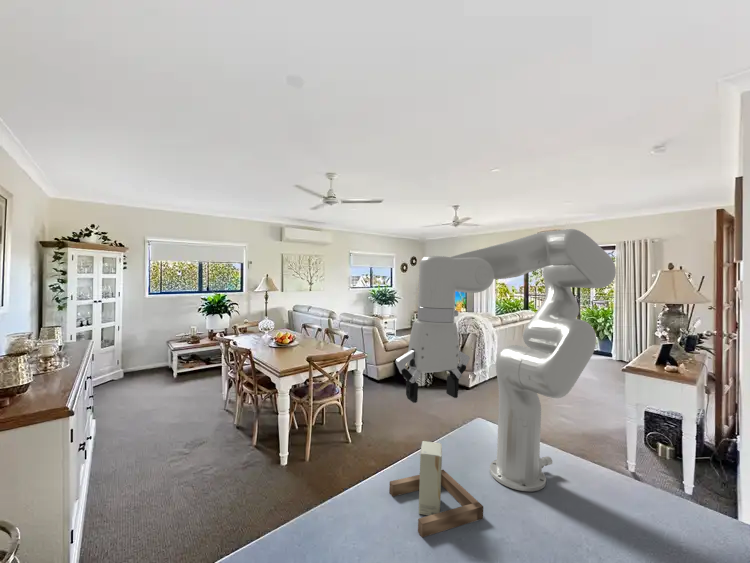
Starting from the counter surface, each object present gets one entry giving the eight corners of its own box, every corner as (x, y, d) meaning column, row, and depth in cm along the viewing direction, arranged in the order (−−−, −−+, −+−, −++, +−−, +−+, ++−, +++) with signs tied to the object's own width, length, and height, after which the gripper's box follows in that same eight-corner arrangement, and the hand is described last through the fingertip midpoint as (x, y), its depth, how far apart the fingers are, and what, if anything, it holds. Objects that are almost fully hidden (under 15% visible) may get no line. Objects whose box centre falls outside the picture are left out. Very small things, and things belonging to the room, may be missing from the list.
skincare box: (440, 518, 68) (442, 457, 68) (417, 514, 69) (420, 454, 69) (440, 498, 75) (442, 442, 74) (420, 495, 75) (422, 439, 75)
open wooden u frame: (442, 479, 81) (443, 469, 81) (483, 518, 68) (483, 506, 68) (389, 492, 76) (389, 481, 76) (422, 537, 63) (422, 524, 63)
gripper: (459, 313, 78) (456, 389, 78) (390, 314, 72) (387, 396, 72) (481, 317, 71) (477, 400, 71) (407, 318, 65) (403, 409, 65)
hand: (432, 398), depth 72 cm, fingers open, 9 cm apart
